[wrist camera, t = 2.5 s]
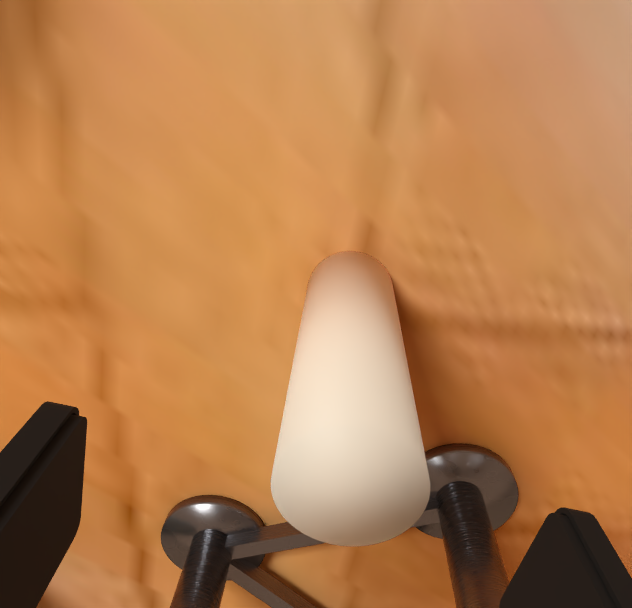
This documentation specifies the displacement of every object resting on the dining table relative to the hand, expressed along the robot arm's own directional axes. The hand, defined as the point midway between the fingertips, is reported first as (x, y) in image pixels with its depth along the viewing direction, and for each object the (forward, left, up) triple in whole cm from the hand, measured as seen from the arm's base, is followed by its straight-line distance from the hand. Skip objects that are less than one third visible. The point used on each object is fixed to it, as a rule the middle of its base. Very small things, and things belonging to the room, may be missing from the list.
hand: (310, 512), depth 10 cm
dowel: (-1, -1, -10) cm, 10 cm away
